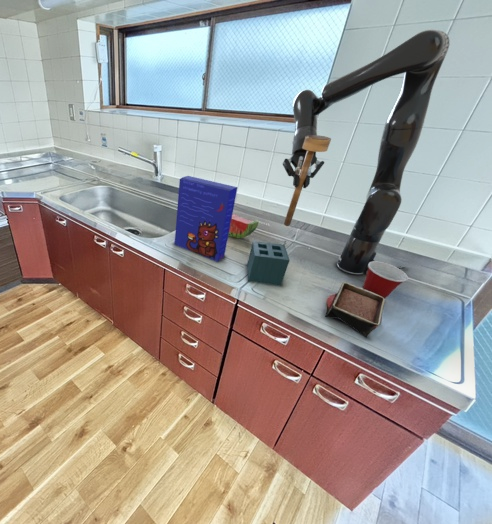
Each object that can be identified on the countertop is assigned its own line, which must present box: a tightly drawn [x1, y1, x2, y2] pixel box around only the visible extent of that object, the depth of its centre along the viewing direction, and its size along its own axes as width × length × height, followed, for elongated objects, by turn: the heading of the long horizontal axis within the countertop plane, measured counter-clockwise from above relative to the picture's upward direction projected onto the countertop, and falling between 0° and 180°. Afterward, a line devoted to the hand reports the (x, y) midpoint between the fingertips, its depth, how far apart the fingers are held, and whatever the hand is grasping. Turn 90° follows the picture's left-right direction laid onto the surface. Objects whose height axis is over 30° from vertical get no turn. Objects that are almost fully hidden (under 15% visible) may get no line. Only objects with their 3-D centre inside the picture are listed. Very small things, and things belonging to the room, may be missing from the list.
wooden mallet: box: [283, 134, 332, 227], centre depth 99 cm, size 8×7×32 cm
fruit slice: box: [228, 213, 259, 239], centre depth 137 cm, size 26×6×10 cm, turn 38°
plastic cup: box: [362, 260, 409, 299], centre depth 95 cm, size 11×11×12 cm
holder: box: [246, 240, 290, 287], centre depth 107 cm, size 11×11×11 cm
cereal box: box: [174, 175, 238, 263], centre depth 117 cm, size 22×6×30 cm, turn 48°
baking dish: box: [324, 282, 386, 339], centre depth 87 cm, size 14×18×10 cm
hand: (301, 186), depth 99 cm, fingers closed on wooden mallet
